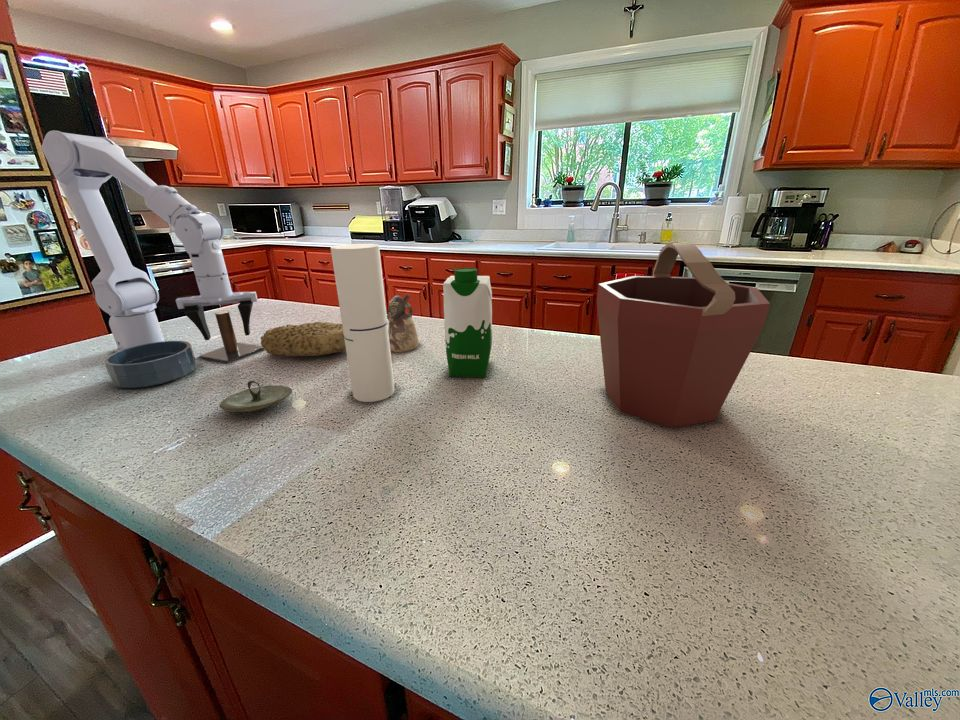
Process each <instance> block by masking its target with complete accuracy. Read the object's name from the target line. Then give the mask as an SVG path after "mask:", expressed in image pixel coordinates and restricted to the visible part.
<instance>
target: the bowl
mask: <svg viewBox="0 0 960 720" xmlns="http://www.w3.org/2000/svg"><path fill="white" fill-rule="evenodd" d="M103 365H104V367H105V369H106V371H107V374H108V377H109V379H110V381H111V383H112V384H113V386H114V387H118V388H146V387H154V386H158V385H162V384H165V383H169V382H172V381H174V380H178V379H180V378H182V377H184V376H186V375H188V374H190V373H191V372H193V371H194V370H195V369H196V368H197V365H198V364H197V360H196V358H195V354H194V350H193V347H192V344H191V343H189V342H188V341H184V340H165V341H161V342H154V343H147V344H143V345H138V346H134V347H130V348H127V349H123V350H120V351H118V352H116V351H114V352H113V353H111V354H109V355H108V356H106V357H105V358H104V359H103Z"/></svg>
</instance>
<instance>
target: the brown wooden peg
mask: <svg viewBox="0 0 960 720" xmlns="http://www.w3.org/2000/svg"><path fill="white" fill-rule="evenodd" d="M214 316H215V319H216V323H217V326H218V329H219V334H220V337H221V341H222V344H223V347H224V348H225V352H226V353H235V352H237V351H239V348H238V344H237V343H238V341H237V337H236V333H235V330H234V326H233V322H232V318H231V314H230V311H229V310H222V311H216V312H215V313H214Z"/></svg>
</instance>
